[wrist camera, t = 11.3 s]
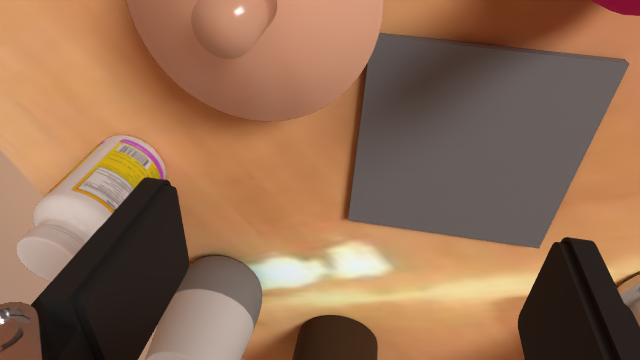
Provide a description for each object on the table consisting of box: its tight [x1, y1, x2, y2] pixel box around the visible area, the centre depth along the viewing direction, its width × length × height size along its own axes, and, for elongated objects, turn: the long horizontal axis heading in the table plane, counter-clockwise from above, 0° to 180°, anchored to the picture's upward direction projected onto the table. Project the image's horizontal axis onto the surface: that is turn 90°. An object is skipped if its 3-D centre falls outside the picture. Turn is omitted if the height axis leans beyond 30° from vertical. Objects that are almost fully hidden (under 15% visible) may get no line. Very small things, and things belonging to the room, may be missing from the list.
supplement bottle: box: [16, 135, 166, 282], centre depth 37 cm, size 7×7×13 cm
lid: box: [126, 0, 384, 121], centre depth 24 cm, size 15×15×6 cm
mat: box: [348, 33, 629, 248], centre depth 35 cm, size 17×17×1 cm
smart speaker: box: [145, 256, 262, 360], centre depth 44 cm, size 10×9×14 cm
